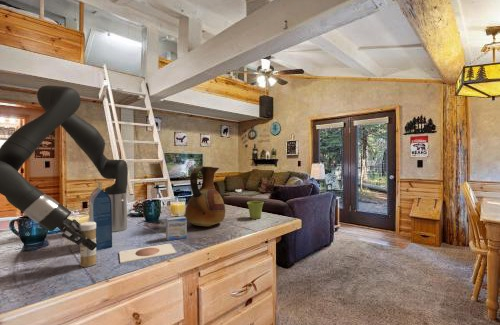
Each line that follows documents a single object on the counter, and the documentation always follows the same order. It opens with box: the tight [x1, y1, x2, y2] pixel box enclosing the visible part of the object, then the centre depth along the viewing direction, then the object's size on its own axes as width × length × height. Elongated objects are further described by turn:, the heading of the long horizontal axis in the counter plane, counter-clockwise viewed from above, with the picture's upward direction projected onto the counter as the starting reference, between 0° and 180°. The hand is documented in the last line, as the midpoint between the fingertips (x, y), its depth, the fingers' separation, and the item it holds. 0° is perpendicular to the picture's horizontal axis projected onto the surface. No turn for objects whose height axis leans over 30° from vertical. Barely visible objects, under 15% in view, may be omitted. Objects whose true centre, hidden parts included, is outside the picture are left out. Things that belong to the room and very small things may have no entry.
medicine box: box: [165, 216, 188, 242], centre depth 111 cm, size 8×4×9 cm, turn 117°
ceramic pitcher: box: [184, 165, 226, 227], centre depth 133 cm, size 20×20×30 cm
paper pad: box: [118, 243, 178, 264], centre depth 94 cm, size 11×18×1 cm, turn 118°
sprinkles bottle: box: [79, 221, 97, 268], centre depth 84 cm, size 5×5×14 cm
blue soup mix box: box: [88, 180, 113, 251], centre depth 103 cm, size 6×12×25 cm, turn 37°
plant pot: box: [246, 200, 265, 220], centre depth 147 cm, size 9×9×9 cm
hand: (95, 245), depth 85 cm, fingers closed on sprinkles bottle, 4 cm apart
